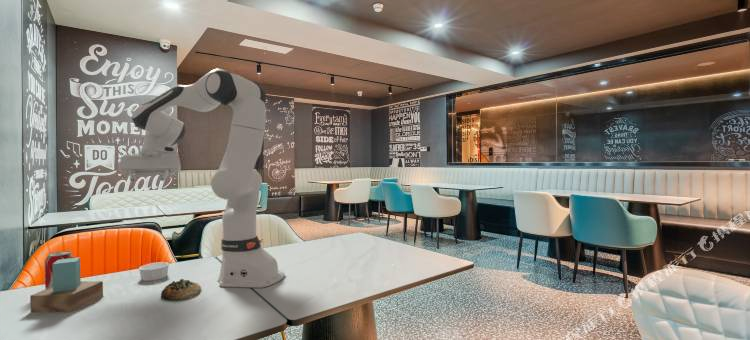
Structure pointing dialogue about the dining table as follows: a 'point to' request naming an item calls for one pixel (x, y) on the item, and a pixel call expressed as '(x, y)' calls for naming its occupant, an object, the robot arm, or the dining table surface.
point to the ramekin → (154, 271)
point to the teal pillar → (66, 275)
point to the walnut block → (66, 298)
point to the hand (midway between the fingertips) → (147, 179)
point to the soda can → (49, 265)
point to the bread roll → (180, 290)
